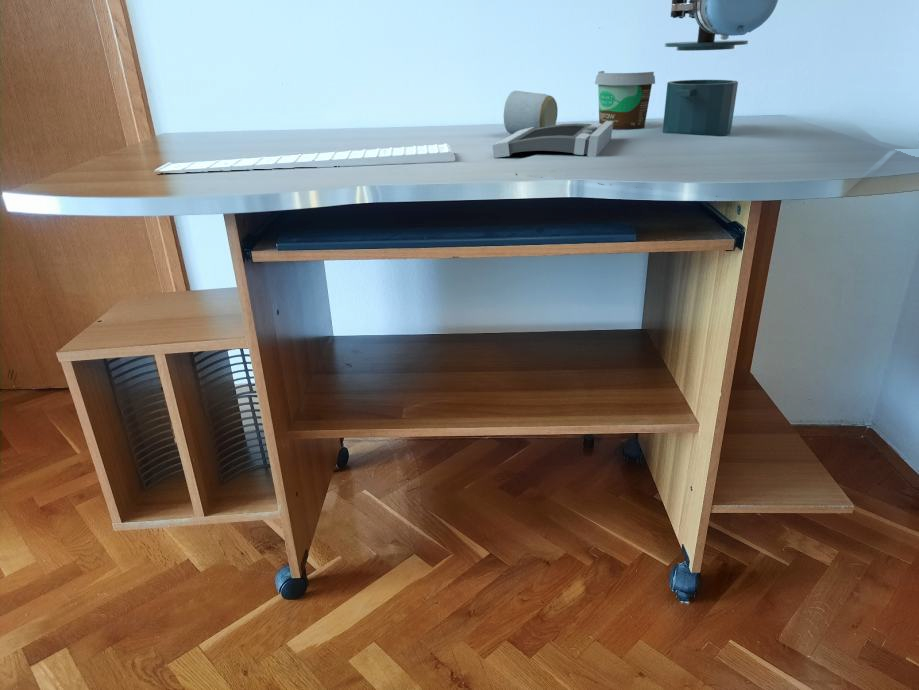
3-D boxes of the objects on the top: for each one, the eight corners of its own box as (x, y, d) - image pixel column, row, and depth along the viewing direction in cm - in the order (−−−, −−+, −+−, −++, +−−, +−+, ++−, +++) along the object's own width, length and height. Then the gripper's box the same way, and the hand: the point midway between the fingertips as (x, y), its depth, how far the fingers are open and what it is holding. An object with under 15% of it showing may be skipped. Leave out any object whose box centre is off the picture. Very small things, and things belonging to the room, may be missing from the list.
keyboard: (153, 175, 95) (150, 165, 94) (170, 166, 102) (168, 156, 101) (455, 161, 97) (454, 150, 97) (451, 152, 105) (451, 142, 104)
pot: (743, 128, 118) (751, 78, 115) (711, 141, 107) (719, 86, 103) (682, 125, 125) (687, 78, 121) (645, 136, 113) (650, 85, 110)
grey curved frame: (598, 136, 93) (490, 126, 97) (593, 168, 95) (488, 157, 99) (613, 121, 107) (519, 113, 112) (609, 150, 109) (517, 140, 114)
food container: (579, 127, 127) (582, 72, 123) (598, 123, 131) (601, 70, 127) (632, 132, 119) (637, 73, 115) (651, 128, 123) (656, 71, 118)
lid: (756, 47, 104) (766, -17, 100) (732, 50, 96) (742, -20, 92) (680, 48, 111) (687, -11, 108) (651, 51, 103) (657, -14, 99)
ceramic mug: (542, 138, 115) (544, 92, 112) (502, 136, 119) (502, 92, 116) (565, 131, 123) (567, 88, 120) (526, 130, 127) (527, 88, 124)
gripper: (661, 36, 88) (654, 35, 109) (784, 32, 85) (752, 32, 106) (667, -26, 85) (658, -15, 106) (795, -33, 82) (760, -21, 102)
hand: (705, 8), depth 106 cm, fingers closed on lid, 3 cm apart
